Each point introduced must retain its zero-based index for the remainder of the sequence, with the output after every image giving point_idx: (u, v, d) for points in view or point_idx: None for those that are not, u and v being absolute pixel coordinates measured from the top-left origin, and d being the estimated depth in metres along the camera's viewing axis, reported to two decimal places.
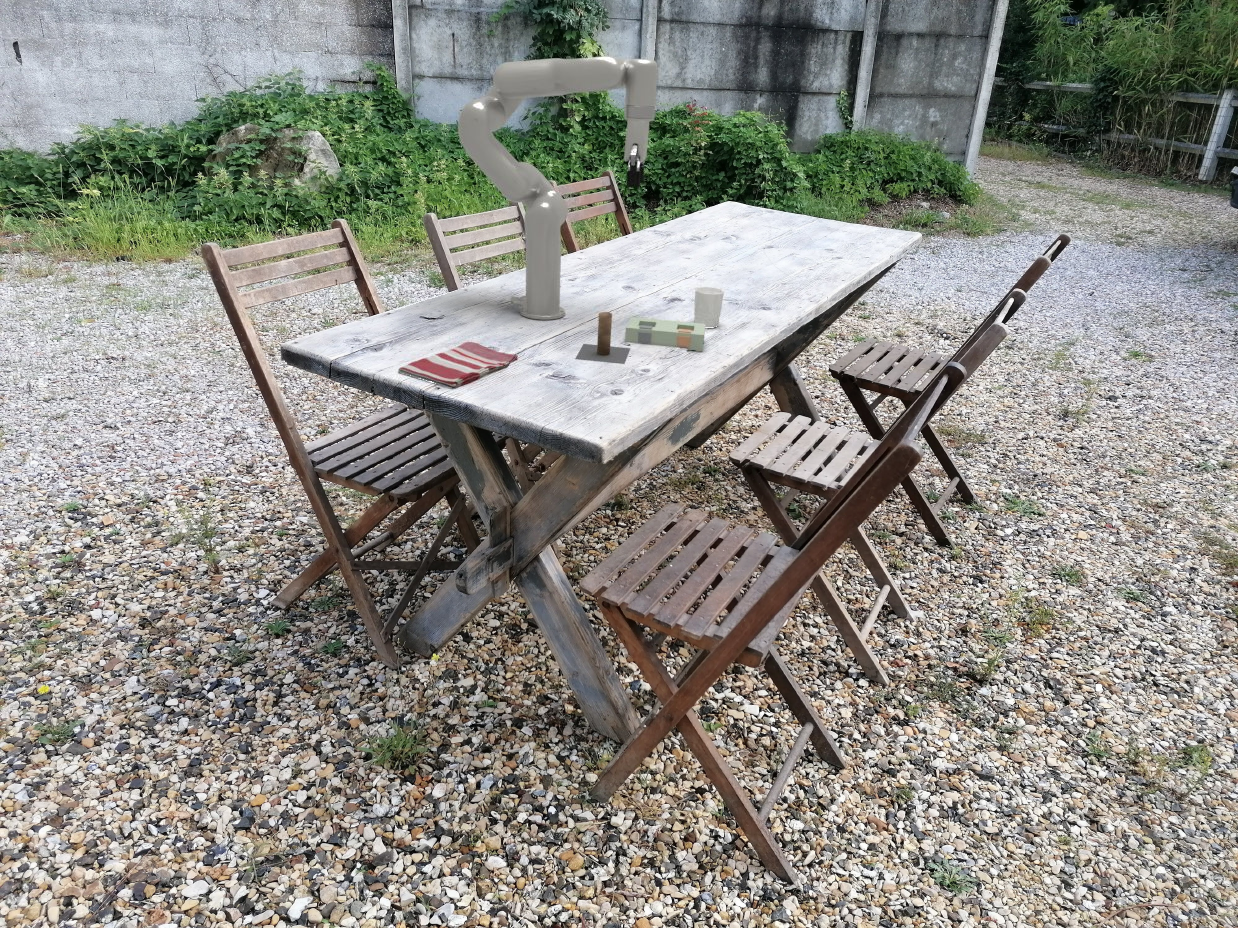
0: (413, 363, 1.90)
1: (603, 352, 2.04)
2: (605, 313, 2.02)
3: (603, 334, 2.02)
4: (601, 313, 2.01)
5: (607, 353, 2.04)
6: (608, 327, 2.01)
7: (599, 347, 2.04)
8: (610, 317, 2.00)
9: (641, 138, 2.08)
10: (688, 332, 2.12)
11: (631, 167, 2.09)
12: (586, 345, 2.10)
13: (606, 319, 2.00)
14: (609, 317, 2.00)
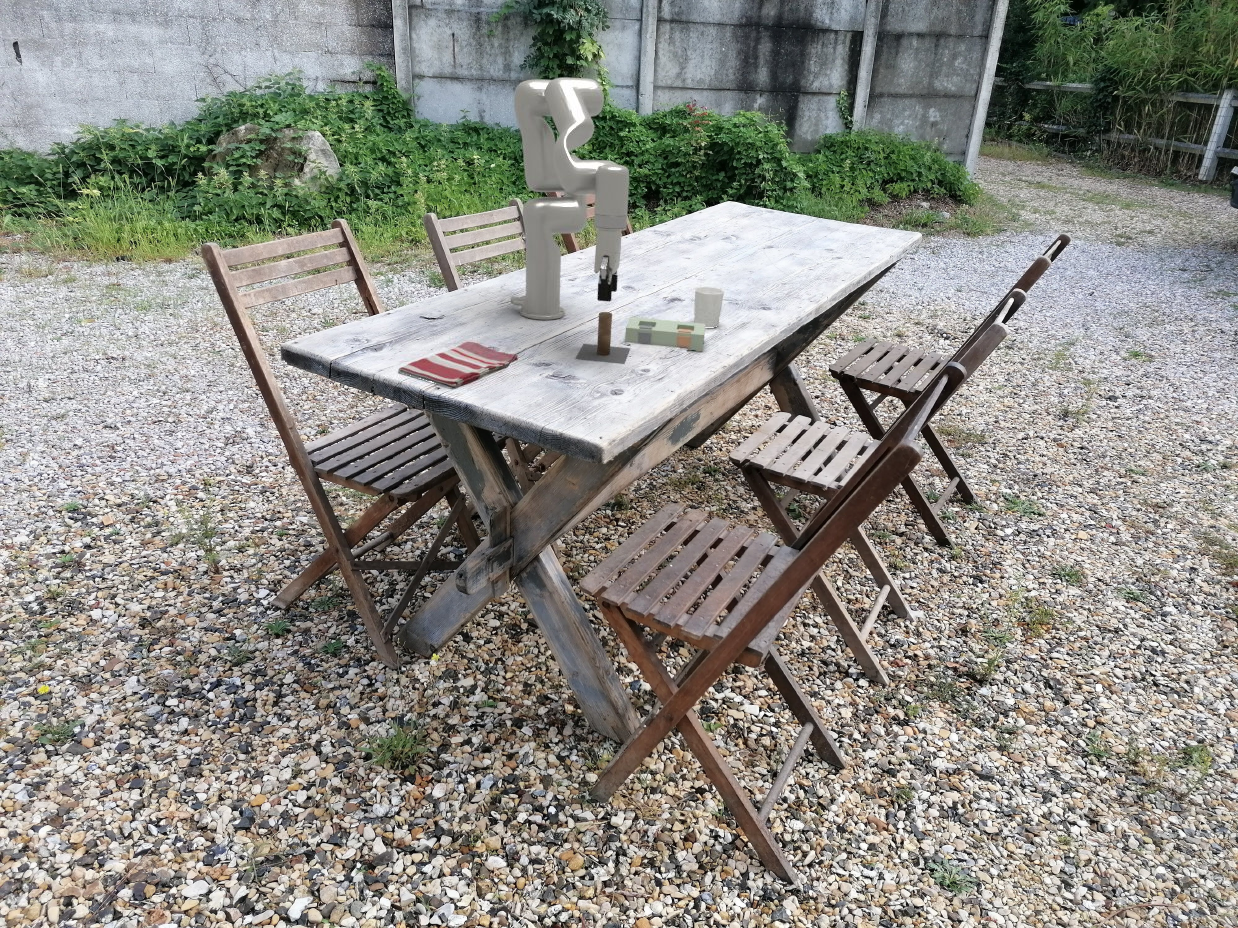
0: (413, 363, 1.90)
1: (603, 352, 2.04)
2: (605, 313, 2.02)
3: (603, 334, 2.02)
4: (601, 313, 2.01)
5: (607, 353, 2.04)
6: (608, 327, 2.01)
7: (599, 347, 2.04)
8: (610, 317, 2.00)
9: (613, 249, 1.89)
10: (688, 332, 2.12)
11: (602, 281, 1.90)
12: (586, 345, 2.10)
13: (606, 319, 2.00)
14: (609, 317, 2.00)
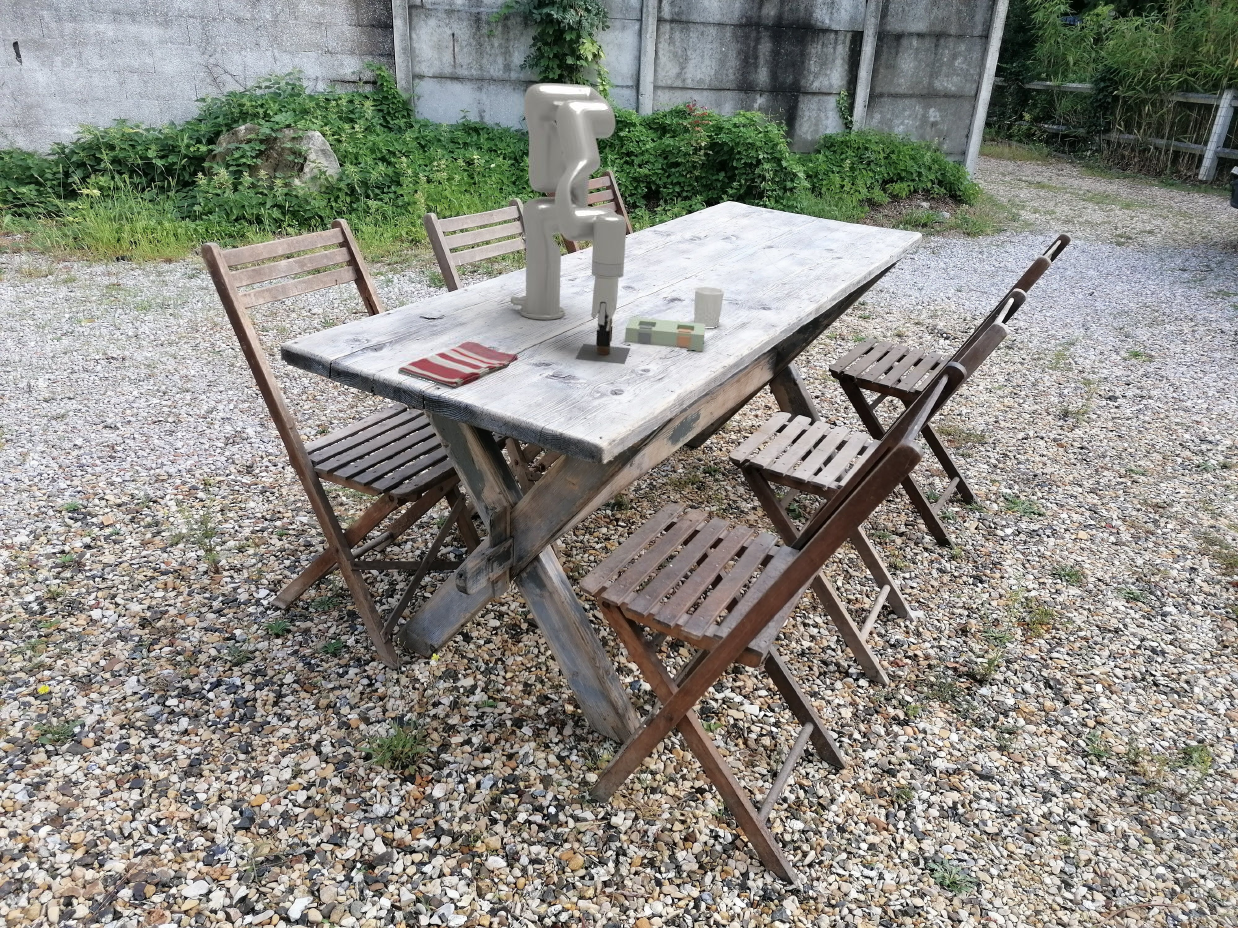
0: (413, 363, 1.90)
1: (603, 352, 2.04)
2: None
3: None
4: None
5: (607, 353, 2.04)
6: None
7: (599, 347, 2.04)
8: None
9: (610, 296, 1.94)
10: (688, 332, 2.12)
11: (600, 328, 1.99)
12: (586, 345, 2.10)
13: None
14: None
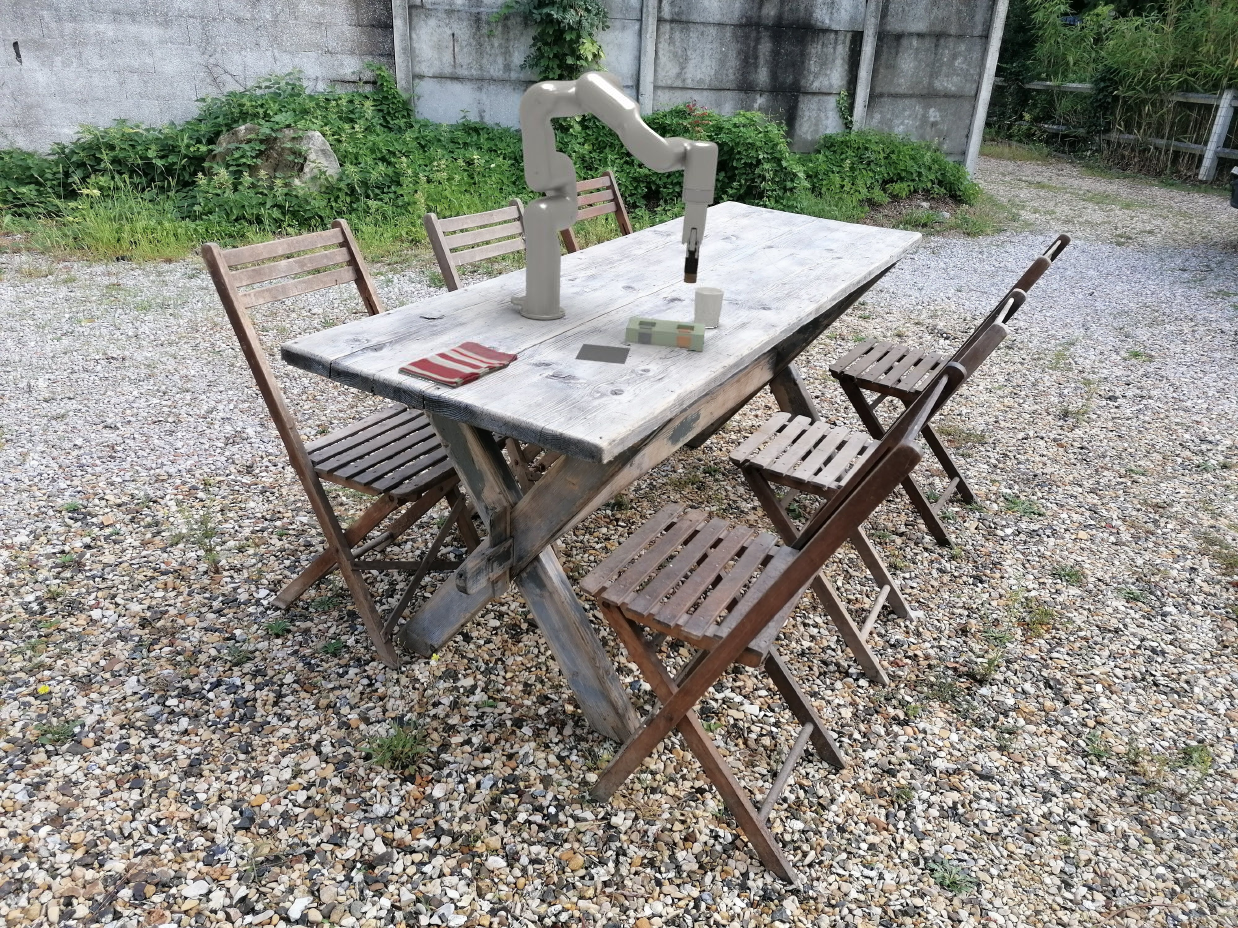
0: (413, 363, 1.90)
1: (691, 280, 2.09)
2: None
3: None
4: None
5: (694, 281, 2.10)
6: None
7: (686, 275, 2.09)
8: None
9: (700, 222, 2.00)
10: (688, 332, 2.12)
11: (690, 254, 2.04)
12: (586, 345, 2.10)
13: None
14: None
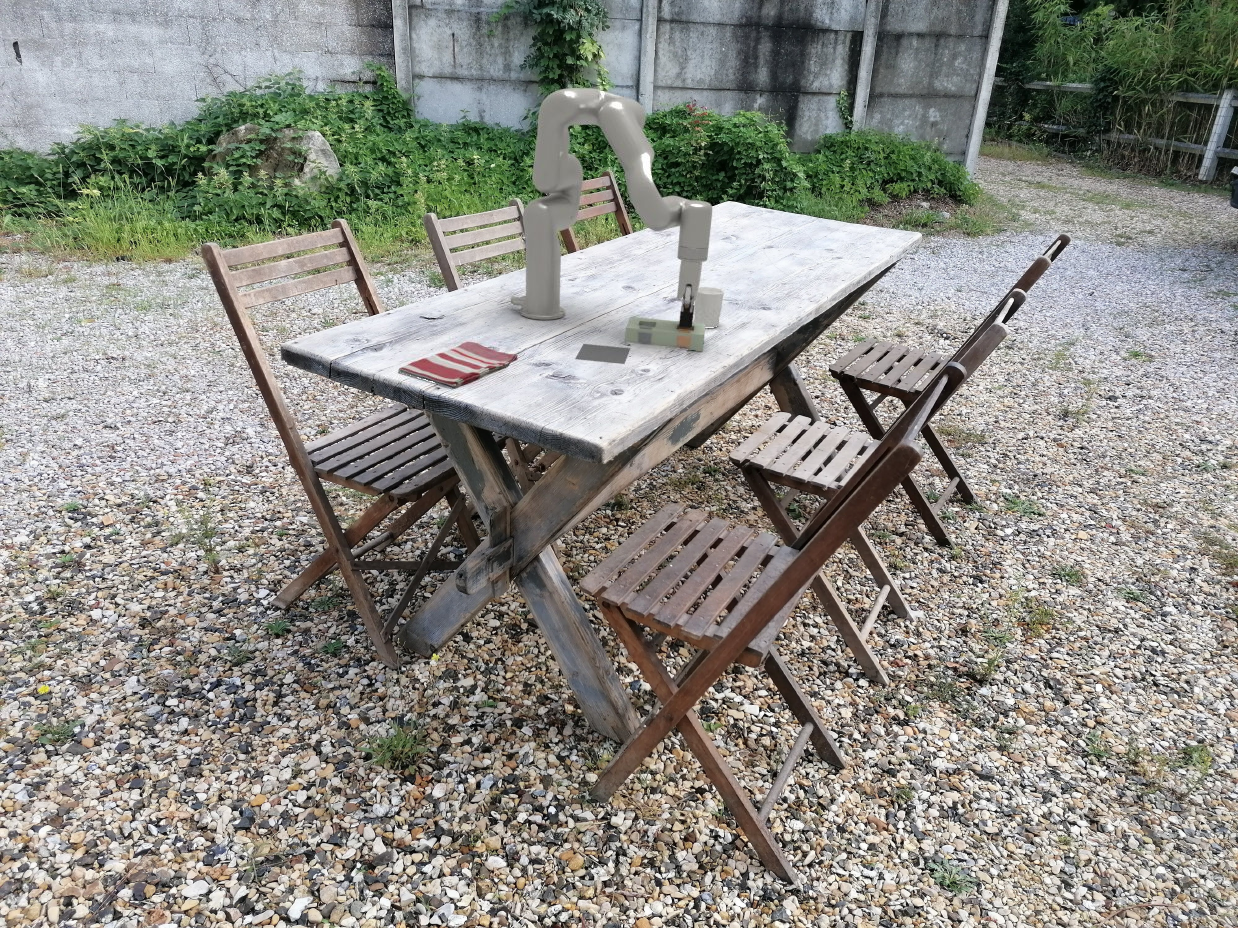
0: (413, 363, 1.90)
1: None
2: None
3: None
4: None
5: None
6: None
7: None
8: (692, 310, 2.13)
9: (695, 278, 2.06)
10: (688, 332, 2.12)
11: (684, 309, 2.09)
12: (586, 345, 2.10)
13: None
14: None
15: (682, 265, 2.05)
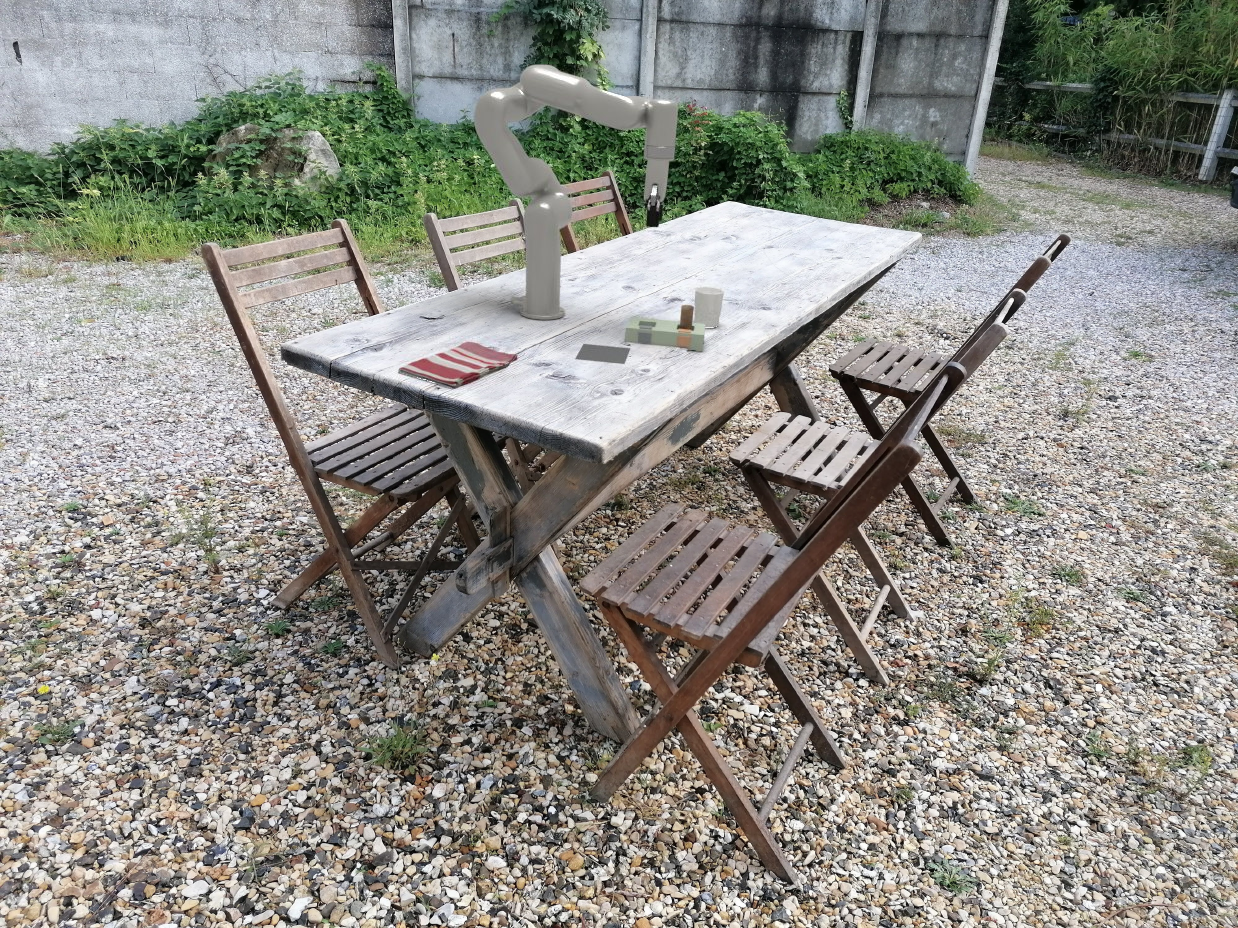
0: (413, 363, 1.90)
1: None
2: (687, 305, 2.15)
3: (685, 325, 2.15)
4: (683, 306, 2.14)
5: None
6: (690, 319, 2.14)
7: None
8: (692, 310, 2.13)
9: (661, 178, 2.06)
10: (688, 332, 2.12)
11: (651, 207, 2.07)
12: (586, 345, 2.10)
13: (688, 312, 2.13)
14: (691, 310, 2.13)
15: (648, 164, 2.06)
